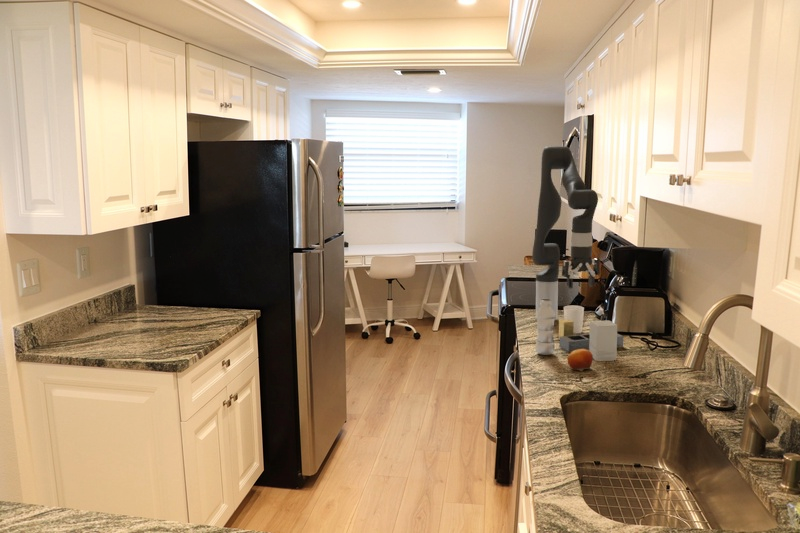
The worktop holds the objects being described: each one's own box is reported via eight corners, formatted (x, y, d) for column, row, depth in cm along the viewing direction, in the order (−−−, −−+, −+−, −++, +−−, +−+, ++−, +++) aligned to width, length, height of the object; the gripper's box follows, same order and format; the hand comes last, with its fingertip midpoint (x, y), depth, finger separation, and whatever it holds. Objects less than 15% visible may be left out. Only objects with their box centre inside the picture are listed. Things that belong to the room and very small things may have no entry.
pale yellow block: (558, 340, 247) (558, 319, 245) (568, 339, 247) (568, 319, 246) (563, 342, 243) (563, 322, 241) (573, 341, 244) (573, 321, 242)
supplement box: (617, 360, 220) (618, 325, 218) (596, 361, 220) (596, 326, 217) (608, 354, 227) (609, 319, 225) (588, 355, 227) (589, 320, 225)
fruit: (583, 371, 206) (575, 347, 208) (568, 377, 212) (560, 354, 215) (602, 367, 209) (593, 344, 212) (587, 373, 216) (578, 350, 218)
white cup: (581, 329, 261) (582, 305, 259) (585, 334, 253) (585, 309, 252) (561, 329, 262) (562, 305, 260) (564, 334, 254) (565, 309, 252)
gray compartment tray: (559, 347, 237) (559, 336, 237) (612, 341, 242) (612, 331, 242) (568, 352, 231) (568, 341, 230) (623, 346, 236) (623, 336, 235)
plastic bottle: (539, 350, 234) (540, 297, 230) (557, 353, 230) (558, 299, 227) (532, 355, 229) (532, 300, 225) (550, 358, 225) (551, 302, 221)
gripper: (593, 241, 241) (592, 283, 244) (559, 244, 237) (558, 286, 240) (604, 244, 233) (603, 287, 236) (569, 246, 230) (568, 290, 233)
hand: (580, 287), depth 238 cm, fingers open, 8 cm apart
